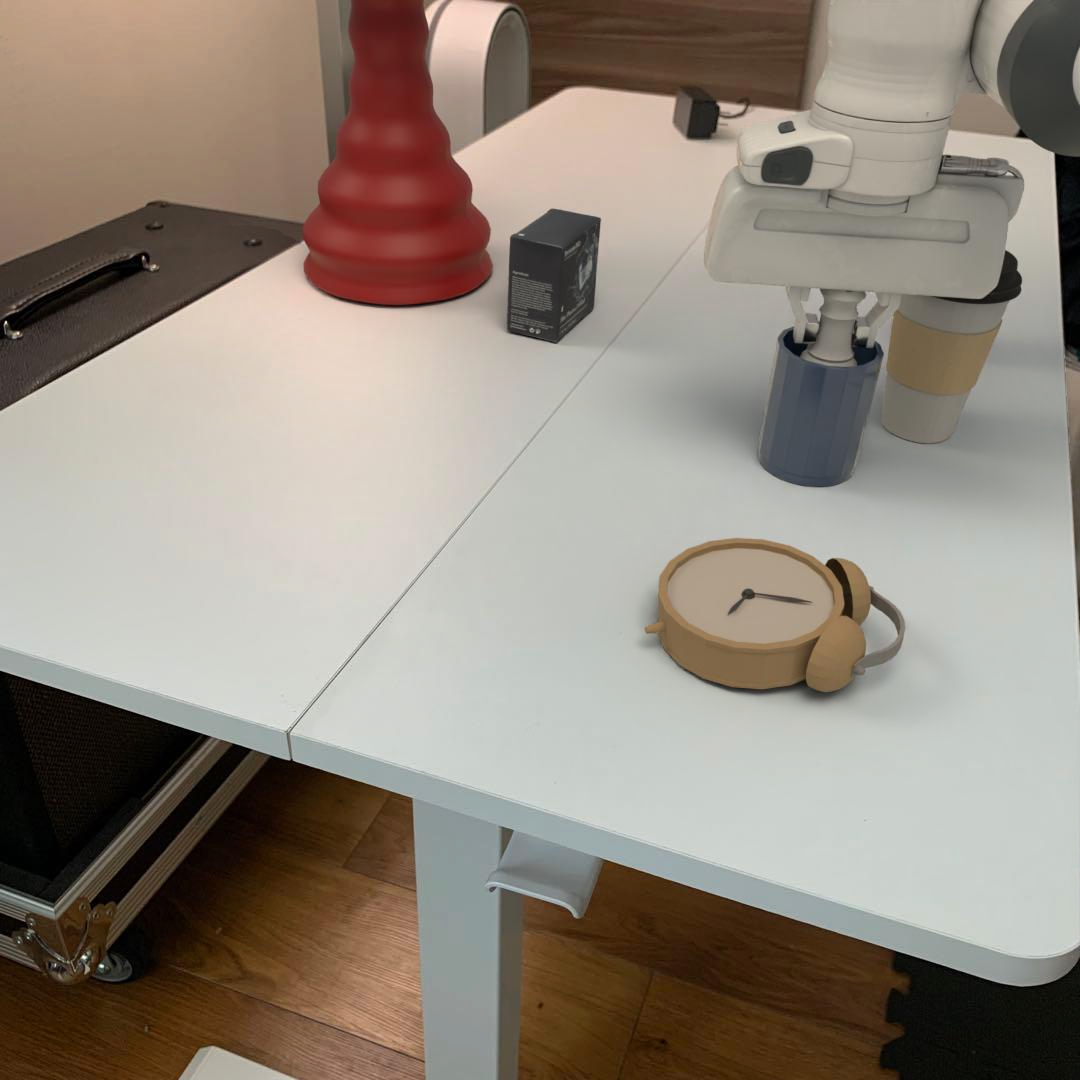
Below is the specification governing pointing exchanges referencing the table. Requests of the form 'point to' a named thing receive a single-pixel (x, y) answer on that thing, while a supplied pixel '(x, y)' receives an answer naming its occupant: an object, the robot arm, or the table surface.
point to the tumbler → (816, 414)
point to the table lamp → (394, 178)
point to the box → (552, 274)
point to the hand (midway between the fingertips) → (831, 342)
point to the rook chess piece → (835, 329)
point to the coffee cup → (940, 356)
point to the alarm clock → (768, 616)
